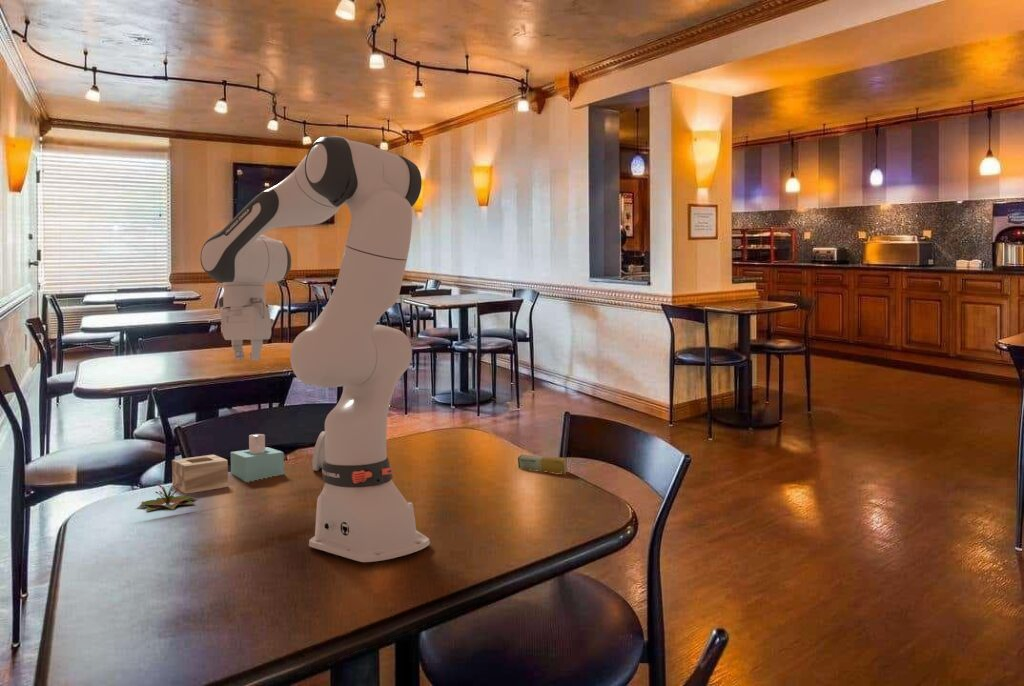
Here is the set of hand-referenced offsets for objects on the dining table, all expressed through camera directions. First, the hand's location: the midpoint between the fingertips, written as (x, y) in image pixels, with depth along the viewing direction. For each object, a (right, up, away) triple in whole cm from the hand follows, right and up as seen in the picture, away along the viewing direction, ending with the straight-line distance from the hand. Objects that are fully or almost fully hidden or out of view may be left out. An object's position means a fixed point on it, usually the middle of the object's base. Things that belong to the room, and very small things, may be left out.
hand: (247, 360), depth 158 cm
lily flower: (-10, -30, -17) cm, 35 cm away
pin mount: (-10, -28, -2) cm, 30 cm away
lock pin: (0, -27, +6) cm, 28 cm away
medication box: (+68, -28, +8) cm, 73 cm away
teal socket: (0, -28, +6) cm, 29 cm away
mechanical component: (+14, -28, +11) cm, 33 cm away
